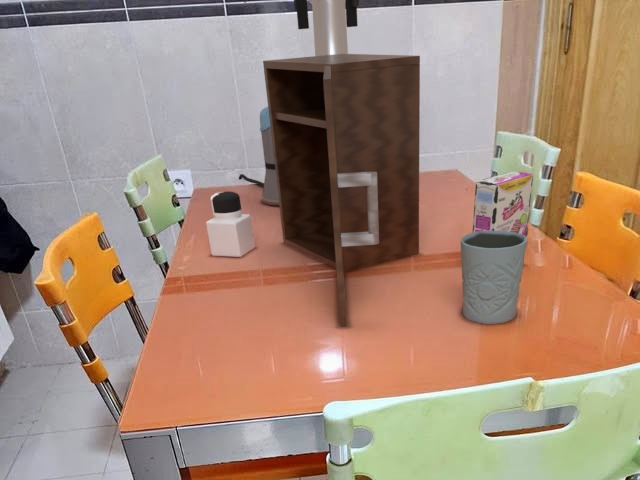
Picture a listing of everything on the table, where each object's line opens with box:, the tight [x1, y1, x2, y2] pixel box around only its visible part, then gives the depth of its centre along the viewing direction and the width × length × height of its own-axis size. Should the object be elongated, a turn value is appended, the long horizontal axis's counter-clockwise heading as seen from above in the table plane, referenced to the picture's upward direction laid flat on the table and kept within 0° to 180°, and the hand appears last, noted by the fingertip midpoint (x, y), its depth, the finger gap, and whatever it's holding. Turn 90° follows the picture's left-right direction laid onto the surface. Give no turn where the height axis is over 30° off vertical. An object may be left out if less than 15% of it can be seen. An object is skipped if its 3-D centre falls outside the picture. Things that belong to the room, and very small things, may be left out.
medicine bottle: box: [205, 190, 256, 258], centre depth 138 cm, size 7×7×12 cm
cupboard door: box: [323, 66, 379, 327], centre depth 105 cm, size 7×26×34 cm, turn 2°
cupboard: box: [262, 53, 421, 273], centre depth 129 cm, size 18×26×34 cm
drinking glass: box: [460, 231, 528, 325], centre depth 103 cm, size 10×10×12 cm
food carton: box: [472, 171, 534, 238], centre depth 118 cm, size 11×5×16 cm, turn 135°
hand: (327, 28), depth 139 cm, fingers open, 13 cm apart
